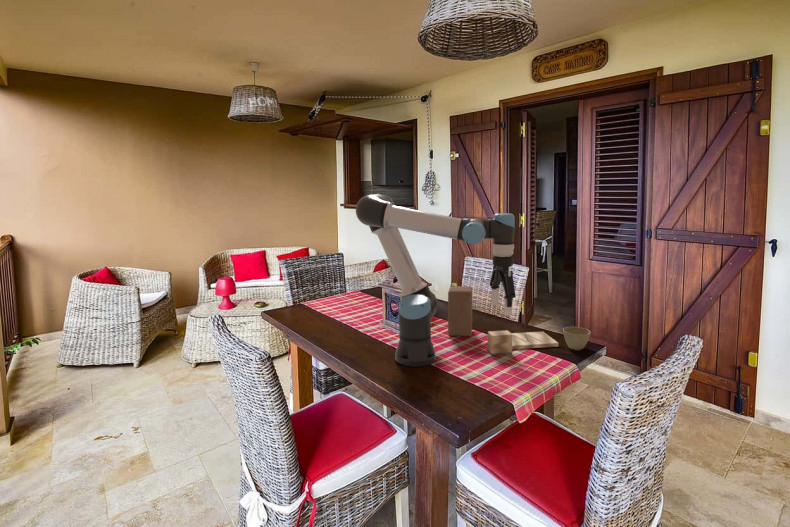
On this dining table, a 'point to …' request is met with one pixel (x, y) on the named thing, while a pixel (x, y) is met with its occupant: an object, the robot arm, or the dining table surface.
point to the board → (532, 340)
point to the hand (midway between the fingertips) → (501, 310)
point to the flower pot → (576, 337)
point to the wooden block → (460, 311)
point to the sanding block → (499, 343)
